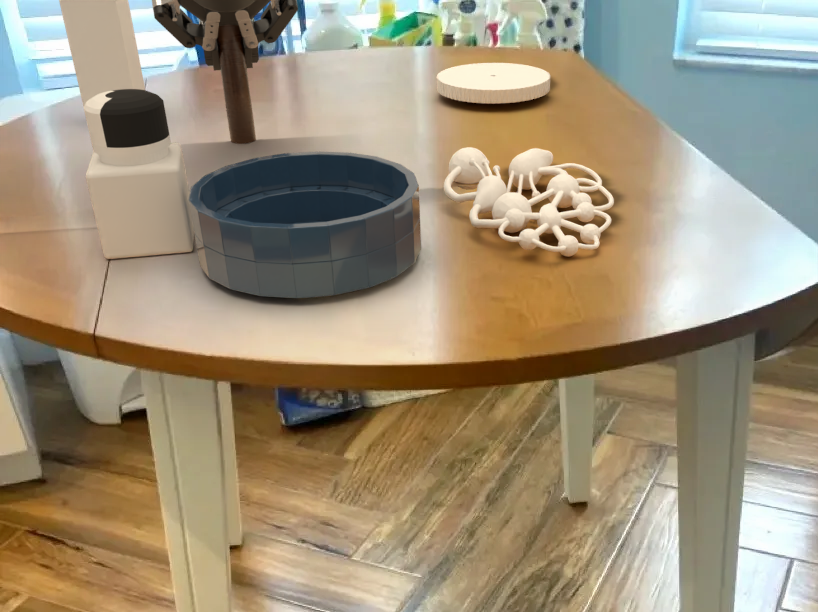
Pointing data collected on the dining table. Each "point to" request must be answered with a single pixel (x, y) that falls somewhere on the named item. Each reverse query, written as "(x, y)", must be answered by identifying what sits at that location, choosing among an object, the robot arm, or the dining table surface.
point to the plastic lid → (493, 83)
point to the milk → (102, 46)
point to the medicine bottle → (136, 176)
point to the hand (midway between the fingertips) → (231, 61)
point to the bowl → (306, 223)
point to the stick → (235, 84)
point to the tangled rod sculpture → (516, 209)
